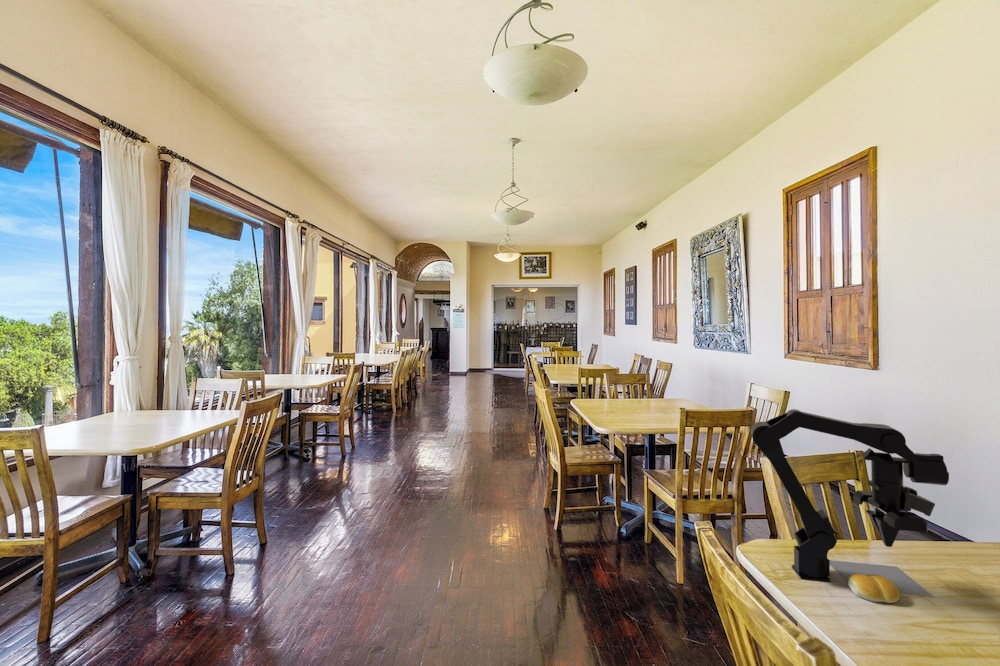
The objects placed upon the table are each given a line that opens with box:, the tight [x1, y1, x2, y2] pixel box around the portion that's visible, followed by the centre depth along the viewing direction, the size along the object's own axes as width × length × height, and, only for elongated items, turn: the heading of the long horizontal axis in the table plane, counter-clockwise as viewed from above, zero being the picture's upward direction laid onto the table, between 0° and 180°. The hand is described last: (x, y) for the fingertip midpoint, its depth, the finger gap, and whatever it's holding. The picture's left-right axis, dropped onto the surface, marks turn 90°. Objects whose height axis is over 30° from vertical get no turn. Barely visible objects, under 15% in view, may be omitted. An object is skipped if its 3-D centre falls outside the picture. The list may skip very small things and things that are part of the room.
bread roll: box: [847, 573, 901, 604], centre depth 106 cm, size 8×9×4 cm
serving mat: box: [829, 559, 934, 598], centre depth 114 cm, size 16×14×1 cm
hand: (888, 546), depth 109 cm, fingers closed
